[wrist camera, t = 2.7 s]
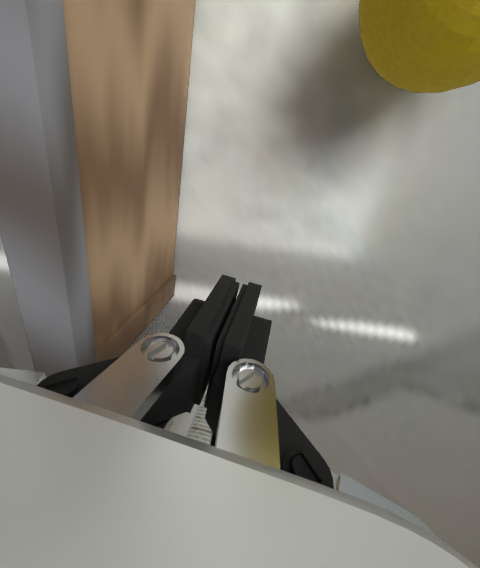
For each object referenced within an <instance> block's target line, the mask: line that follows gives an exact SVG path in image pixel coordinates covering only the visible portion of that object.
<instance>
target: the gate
mask: <svg viewBox="0 0 480 568" xmlns="http://www.w3.org/2000/svg"><path fill="white" fill-rule="evenodd" d="M194 11H195V0H0V234H1V238H2V242H3V246H4V250H5V254H6V258H7V262H8V265H9V269H10V273H11V277H12V281H13V285H14V289H15V293H16V297H17V301H18V305H19V309H20V313H21V317H22V321H23V325H24V329H25V332H26V336H27V340H28V344H29V348H30V352H31V356H32V360H33V364H34V368H35V372H44V373H45V377H48V376H50V375H52V374H55V373H58V372H61V371H64V370H68V369H73V368H77V367H81V366H85V365H89V364H93V363H97V362H101V361H105V360H109V359H113V358H117V357H121V356H122V355H123V354H124V353H125V352H126V351H127V349H128V348H129V347H130V346H131V345H132V344H133V342H134V341H135V340H136V339H137V338H138V337H139V335H140V334H141V333H142V332H143V331H144V330H145V328H146V327H147V326H148V325H149V324H150V323H151V321H152V320H153V319H154V318H155V317H156V316H157V315H158V313H159V312H160V311H161V310H162V309H163V308H164V306H165V305H166V304H167V303H168V302H169V301H170V299H171V298H172V297H173V296H174V289H175V277H176V276H175V275H173V267H174V255H175V243H176V231H177V218H178V206H179V194H180V182H181V170H182V158H183V145H184V133H185V121H186V109H187V97H188V84H189V72H190V60H191V48H192V36H193V24H194Z"/></svg>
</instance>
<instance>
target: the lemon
mask: <svg viewBox="0 0 480 568" xmlns="http://www.w3.org/2000/svg"><path fill="white" fill-rule="evenodd" d="M359 21H360V33H361V41H362V44H363V46H364V49H365V52H366V55H367V58H368V60H369V62H370V63H371V65H372V66H373V67H374V69H375V70H376V72H377V73H378V74H379V76H381V77H382V78H383V79H385V80H386V81H388V82H389V83H390V84H392V85H393V86H394V87H398V88H401V89H404V90H407V91H411V92H414V93H438V92H444V91H448V90H452V89H456V88H459V87H463V86H467V85H470V84H473V83H476V82H478V81H480V0H360V4H359Z"/></svg>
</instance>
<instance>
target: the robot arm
mask: <svg viewBox="0 0 480 568" xmlns="http://www.w3.org/2000/svg"><path fill="white" fill-rule="evenodd" d="M261 287H262V286H261V285H258V284H254V283H251V282H249V284H248V285H245V284H243V285H242V288H241V290H240V292H239V294H238V296H237V293H238V288H239V283H238V282H235V278H233V277H229V276H226V275H222V276H221V278H220V279H219V281H218V282H217V284H216V285H215V287H214V288H213V290H212V291H211V293H210V294H209V296H208V298H207V299H206V301H202V300H199V299H194V300H193V301H192V302H191V304H190V305H189V306H188V308H187V309H186V311H185V312H184V313H183V315H182V316H181V317H180V319H179V320H178V321H177V323H176V324H175V326H174V327H173V328H172V330H171V331H170V332H169V333H153V334H150V335H147V336H145V337H143V338H142V339H140V340H139V341H138V342H137V343H136V344H135V345H133V346H132V347H131V348H130V349H129V350H128V351H126V352H125V353H124V354H123V355H122V356H121V357H117V358H113V359H109V360H105V361H101V362H97V363H93V364H89V365H85V366H81V367H77V368H73V369H68V370H64V371H61V372H58V373H55V374H52V375H50V376H48V377H45V373H44V372H35V371H26V370H17V369H8V368H0V568H478V567H477V566H476V565H475V564H473V563H472V562H471V561H469V560H468V559H467V558H465V557H464V556H463V555H461V554H460V553H459V552H457V551H456V550H455V549H453V548H452V547H451V546H449V545H448V544H447V543H445V542H444V541H442V540H440V539H439V538H437V537H436V536H435V534H434V533H433V532H432V531H431V530H430V528H429V527H428V526H427V525H426V524H425V523H424V522H423V521H421V520H420V519H419V518H417V517H416V516H415V515H413V514H412V513H410V512H408V511H406V510H405V509H403V508H401V507H399V506H398V505H396V504H394V503H393V502H391V501H389V500H387V499H386V498H384V497H382V496H381V495H379V494H377V493H375V492H374V491H372V490H370V489H369V488H367V487H365V486H363V485H362V484H360V483H358V482H356V481H355V480H353V479H351V478H350V477H348V476H346V475H344V474H343V473H341V474H340V475H339V476H338V475H336V474H334V473H333V472H331V471H330V468H329V467H328V465H327V464H326V462H325V460H324V459H323V458H322V456H321V455H320V454H319V452H318V451H317V450H316V449H315V447H314V446H313V445H312V444H311V442H310V441H309V440H308V439H307V437H306V436H305V435H304V433H303V432H302V431H301V430H300V428H299V427H298V426H297V425H296V423H295V422H294V421H293V419H292V418H291V417H290V416H289V414H288V413H287V412H286V411H285V409H284V408H283V407H282V406H281V404H280V403H279V402H278V400H277V399H276V391H275V380H274V376H273V374H272V372H271V371H270V369H269V368H268V367H267V366H266V365H264V360H265V354H266V349H267V344H268V339H269V334H270V328H271V323H272V321H271V320H267V319H264V318H260V317H257V316H254V313H255V309H256V306H257V302H258V298H259V295H260V291H261ZM236 297H237V299H236ZM207 386H208V388H207ZM206 389H207V393H206V398H205V403H204V407H205V408H207V410H206V415H205V419H206V421H207V423H208V425H209V427H210V429H211V431H212V434H211V439H210V445H208V444H205V443H202V442H199V441H197V440H194V439H191V438H188V437H185V436H182V435H179V434H176V433H173V432H170V431H169V429H170V428H171V426H172V425H173V423H174V421H175V418H176V416H177V415H180V414H182V413H185V412H188V413H191V410H192V408H193V406H194V404H196V405H200V403H201V401H202V398H203V396H204V394H205V391H206Z"/></svg>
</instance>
